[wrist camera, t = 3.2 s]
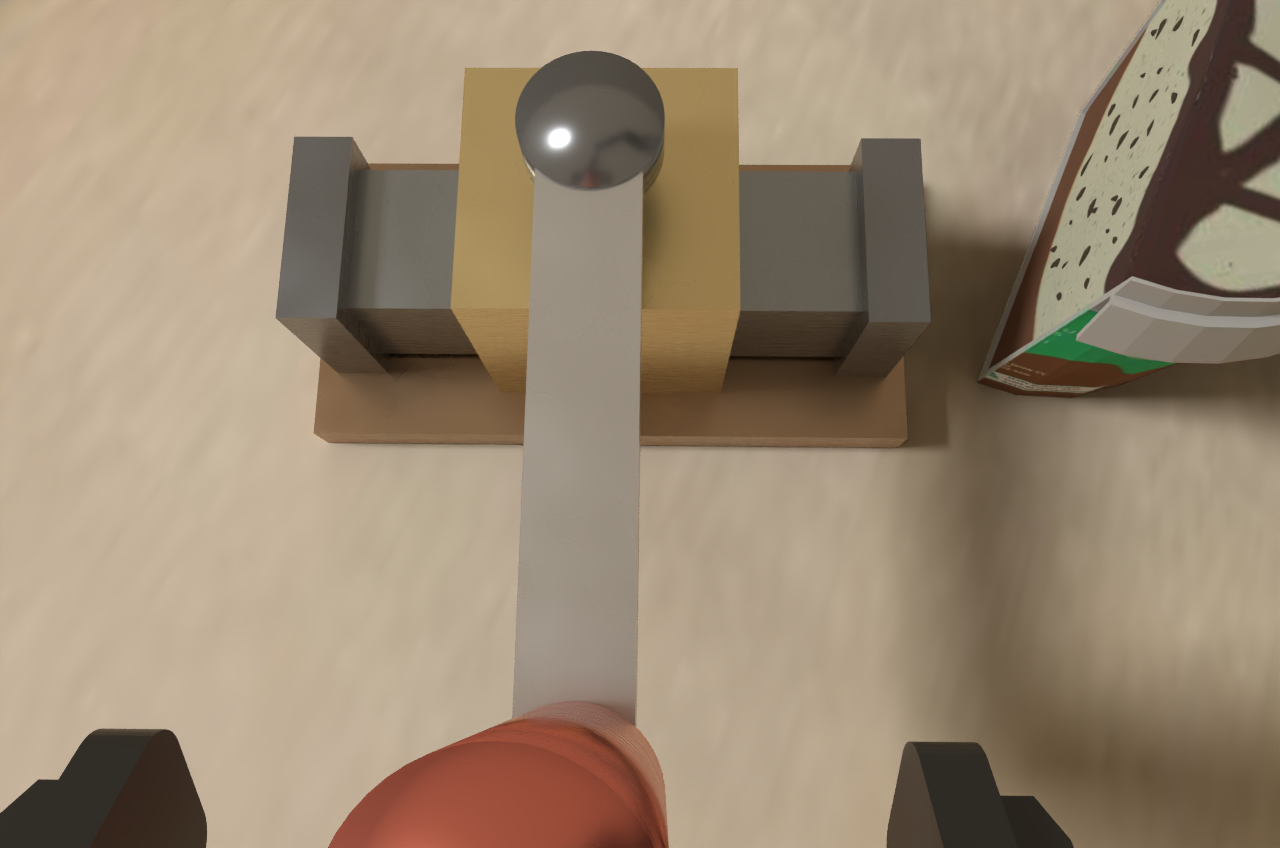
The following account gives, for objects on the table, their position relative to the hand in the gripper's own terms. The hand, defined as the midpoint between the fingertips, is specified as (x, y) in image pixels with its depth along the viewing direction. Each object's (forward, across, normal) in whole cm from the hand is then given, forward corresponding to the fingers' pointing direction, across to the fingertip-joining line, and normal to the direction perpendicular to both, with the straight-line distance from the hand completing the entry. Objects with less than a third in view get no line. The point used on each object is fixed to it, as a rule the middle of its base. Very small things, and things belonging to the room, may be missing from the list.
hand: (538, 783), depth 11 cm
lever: (+8, 0, +1) cm, 8 cm away
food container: (+20, -15, +2) cm, 25 cm away
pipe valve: (+19, 0, +3) cm, 19 cm away
